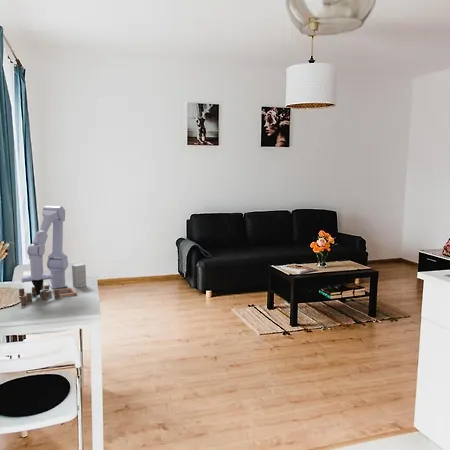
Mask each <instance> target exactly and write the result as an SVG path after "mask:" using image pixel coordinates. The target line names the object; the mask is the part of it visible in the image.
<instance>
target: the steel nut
mask: <svg viewBox="0 0 450 450" xmlns="http://www.w3.org/2000/svg"><path fill="white" fill-rule="evenodd" d="M42 291H47V299H48V298H52V289H50V288H49V289H43V290H40V295H39V297H40V298H41V299H42Z"/></svg>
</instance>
